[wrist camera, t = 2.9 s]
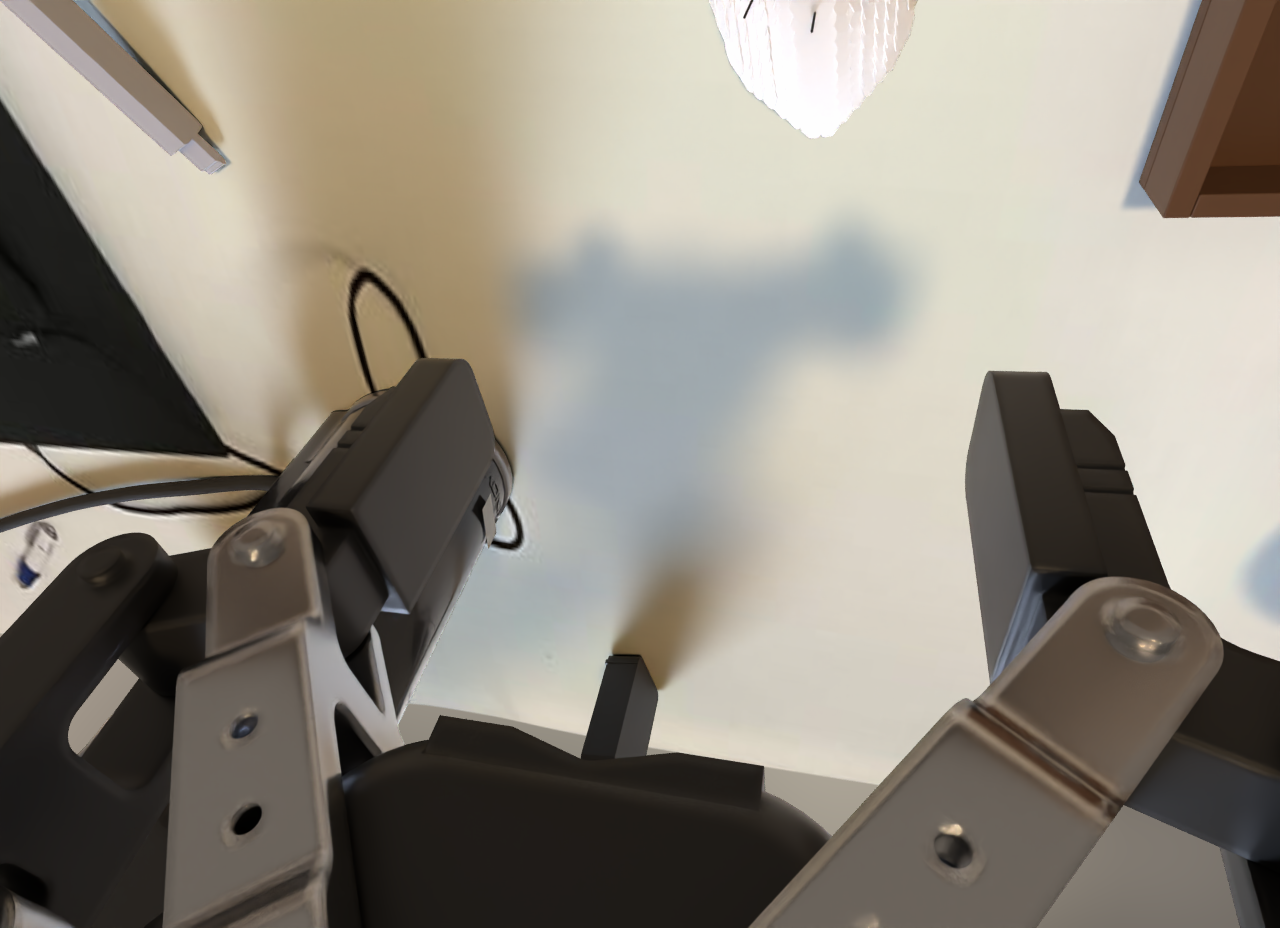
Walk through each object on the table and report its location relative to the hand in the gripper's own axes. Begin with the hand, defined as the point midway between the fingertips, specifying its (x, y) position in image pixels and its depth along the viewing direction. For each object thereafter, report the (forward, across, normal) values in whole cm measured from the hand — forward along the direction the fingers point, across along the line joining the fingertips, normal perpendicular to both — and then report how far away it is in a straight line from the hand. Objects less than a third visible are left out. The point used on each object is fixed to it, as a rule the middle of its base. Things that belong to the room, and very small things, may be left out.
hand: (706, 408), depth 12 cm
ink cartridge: (+16, +10, +36) cm, 41 cm away
